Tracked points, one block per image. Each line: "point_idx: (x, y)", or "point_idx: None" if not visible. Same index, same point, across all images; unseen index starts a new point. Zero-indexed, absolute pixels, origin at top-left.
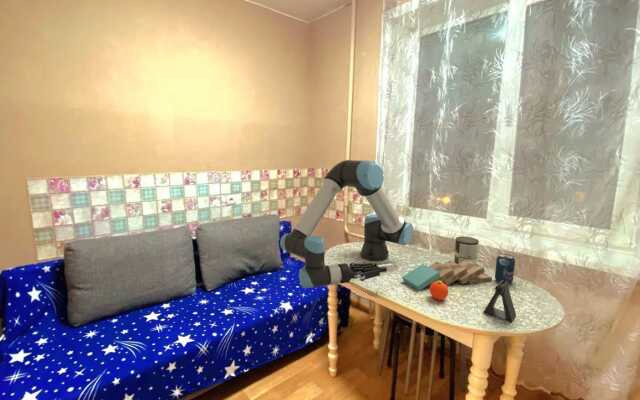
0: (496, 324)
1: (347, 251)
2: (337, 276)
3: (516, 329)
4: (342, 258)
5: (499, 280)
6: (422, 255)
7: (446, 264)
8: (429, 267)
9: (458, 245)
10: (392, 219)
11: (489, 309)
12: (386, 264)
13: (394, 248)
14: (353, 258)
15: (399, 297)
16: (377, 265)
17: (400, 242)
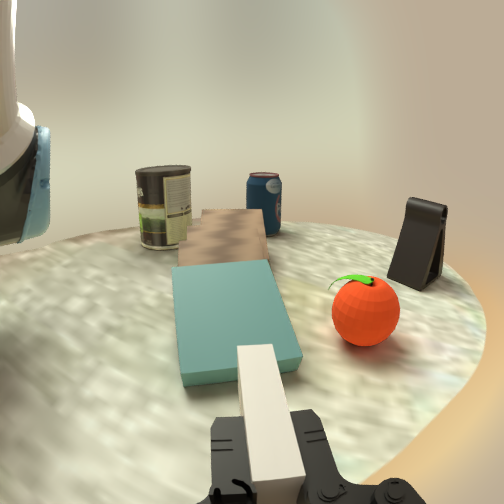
0: (458, 291)
1: None
2: None
3: (461, 278)
4: None
5: (270, 230)
6: (54, 265)
7: (195, 239)
8: (216, 264)
9: (159, 185)
10: (5, 79)
11: (427, 274)
12: (253, 385)
13: None
14: None
15: (362, 460)
16: (262, 480)
17: (34, 221)
